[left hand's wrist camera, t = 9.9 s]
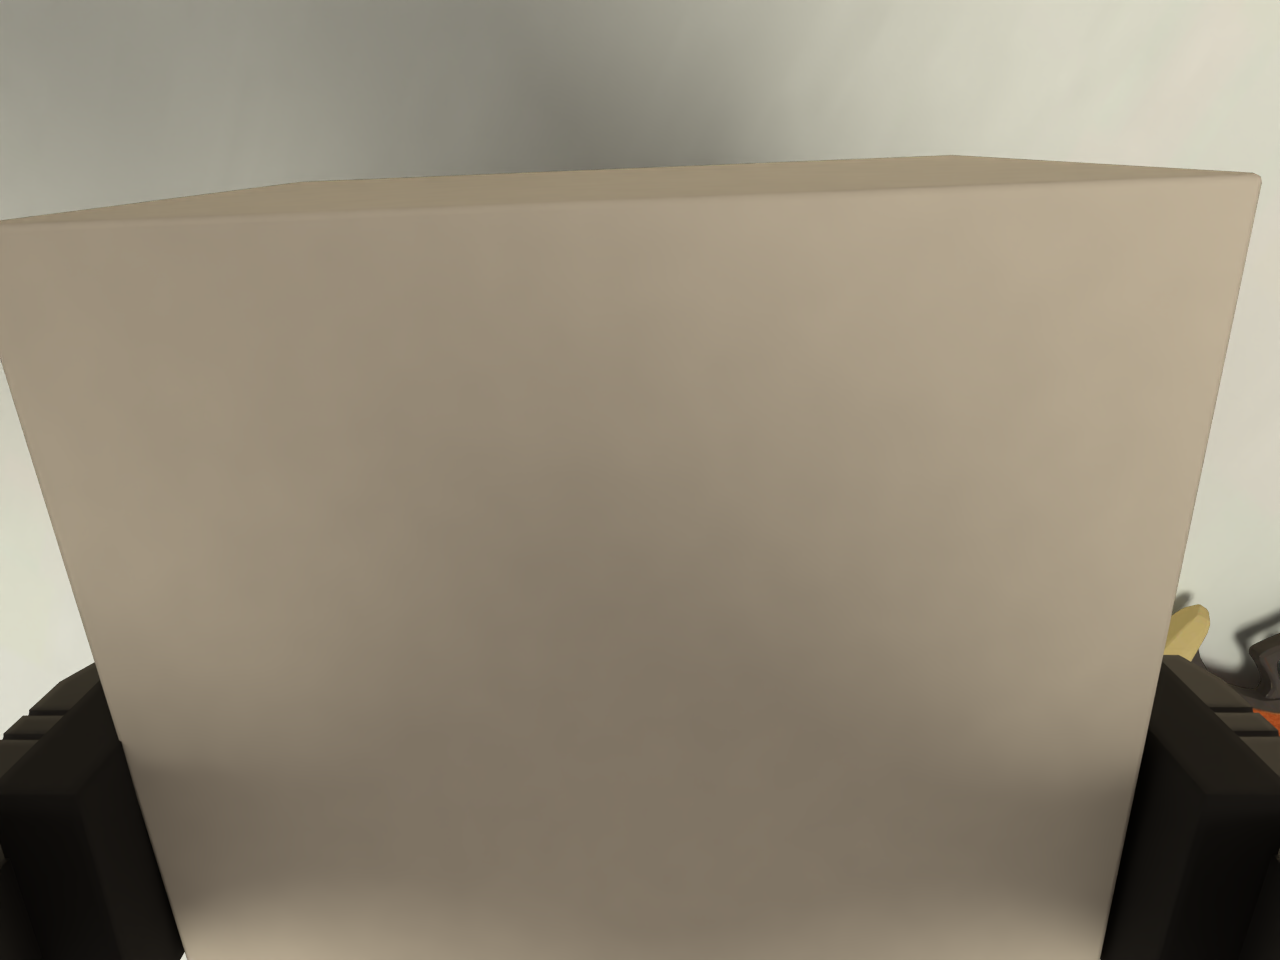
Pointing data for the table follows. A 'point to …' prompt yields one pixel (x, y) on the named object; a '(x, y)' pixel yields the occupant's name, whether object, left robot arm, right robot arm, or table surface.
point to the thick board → (633, 545)
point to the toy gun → (1273, 694)
